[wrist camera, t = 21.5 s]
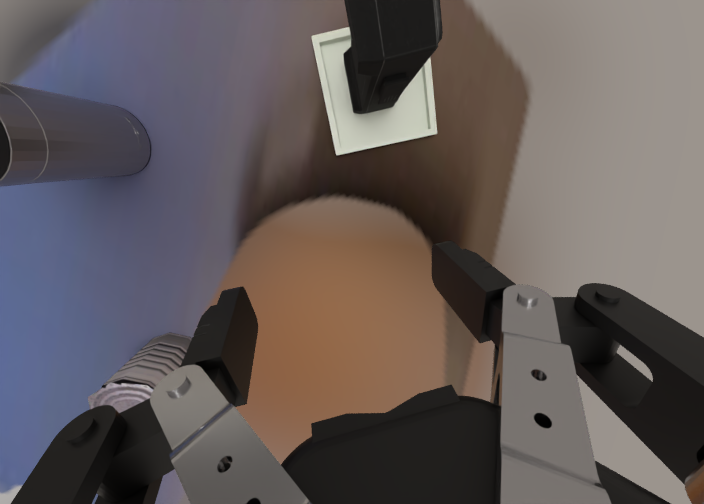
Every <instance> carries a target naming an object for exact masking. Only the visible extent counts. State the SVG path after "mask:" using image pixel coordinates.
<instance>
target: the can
mask: <svg viewBox="0 0 704 504" xmlns="http://www.w3.org/2000/svg"><path fill="white" fill-rule="evenodd" d="M191 340H192V339H191V338H190V337H188V336H183V335H179V334H174V333H167V334H164V335H161V336H158V337H155V338H153V339H152V340H151V341H150V342H149V343H148V344H147V345H146V346H144V347H143V348H142V349H141V350H140V351H139V352H138V353H137V354H136V355H135V356H134V357H133V358H132V359H130V360H129V361H128V362H127V363H126V364H125V365H124V366H123V367H122V368H121V369H120V370H119V371H118V372H117V373H115V374H114V375H113V376H112V377H111V378H110V379H109V380H108V381H107V382H106V383H105V384H104V385H103V386H102V388H101V389H100V390H98V391H97V392H95V393H94V394H92V395H91V396H89V397H88V401H89V406H90V409H92V408H95V407H97V406H101V405H111V406H113V407H114V408H115V409H116V410H117V411H118V412H119V413H121V412H123V411H125V410H127V409H129V408H131V407H133V406H135V405H137V404H139V403H141V402H143V401H145V400H147V399H149V398H150V397H151V394H152V392H153V390H154V388H155V387H156V385H157V384H158V383H159V382H160V381H161V380H162V379H163V378H164V377H165V376H167V375H168V374H169V373H171V372H172V371H174V370H176V369H178V368H180V365H181V363H182V361H183V359H184V356H185V354H186V352H187V349H188V347H189V345H190V342H191Z"/></svg>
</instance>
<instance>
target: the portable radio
mask: <svg viewBox="0 0 704 504" xmlns="http://www.w3.org/2000/svg"><path fill="white" fill-rule="evenodd" d="M345 6H346V12H347V17H348V23H349V29H350V34H351V47H350V48H349V49H348V50H347V51H346V52H345V53H344V54H343V57H344V66H345V71H346V76H347V81H348V87H349V92H350V97H351V103H352V108H353V113H356V114H366V113H371V112H375V111H379V110H383V109H387V108H391V107H393V106H394V105H395V103H396V102H397V101H398V99H399V97H400V95H401V94H402V93H403V91H404V90H405V88H406V87H407V86H408V85H409V83H410V82H411V81H412V80H413V78H414V77H415V76H416V74H417V73H418V72H419V71H420V69H421V68H422V67H423V65H424V64H425V63H426V62H427V60H428V59H429V58H430V57H431V55H432V54H433V53H434V51H435V50H436V49H437V47H438V43H439V41H440V40H441V39H442V33H443V32H442V20H441V8H440V0H345Z"/></svg>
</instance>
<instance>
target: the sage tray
mask: <svg viewBox="0 0 704 504" xmlns="http://www.w3.org/2000/svg"><path fill="white" fill-rule="evenodd" d="M311 37H312V42H313V47H314V51H315V56H316V61H317V66H318V71H319V75H320V80H321V85H322V90H323V94H324V99H325V104H326V109H327V114H328V118H329V123H330V128H331V133H332V137H333V142H334V147H335V152H336V156H337V155H342V154H346V153H351V152H356V151H360V150H365V149H369V148H374V147H379V146H383V145H388V144H393V143H397V142H402V141H406V140H411V139H416V138H420V137H425V136H430V135H434V134H437V126H436V115H435V104H434V93H433V82H432V71H431V60H430V58H429V59H428V60H427V62H426V63H425V64H424V65H423V67H422V68H421V69H420V71H419V72H418V73H417V74H416V76H415V77H414V78H413V80H412V81H411V82H410V83H409V85H408V86H407V87H406V88H405V90H404V91H403V93H402V94H401V95H400V97H399V99H398V101H397V102H396V103H395V105H394V106H393V107H391V108H387V109H383V110H379V111H375V112H371V113H366V114H356V113H353V108H352V103H351V97H350V92H349V87H348V81H347V76H346V71H345V66H344V57H343V54H344V53H345V52H346V51H347V50H348V49H349V48H350V47H351V34H350V29H349V27H347V28H343V29H339V30H335V31H331V32H326V33H322V34H318V35H314V36H311Z"/></svg>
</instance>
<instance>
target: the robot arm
mask: <svg viewBox="0 0 704 504" xmlns="http://www.w3.org/2000/svg"><path fill="white" fill-rule="evenodd" d="M149 157H150V142H149V139H148V135H147V133H146V131H145V129H144V127H143V126H142V125H141V123H140V122H139V121H138V120H137V119H136V118H135V117H134V116H133V115H132V114H131V113H129V112H128V111H126V110H124V109H122V108H120V107H117V106H112V105H108V104H103V103H99V102H94V101H90V100H85V99H81V98H76V97H71V96H66V95H62V94H57V93H52V92H47V91H43V90H38V89H33V88H28V87H23V86H19V85H14V84H9V83H4V82H0V186H11V185H21V184H32V183H43V182H55V181H66V180H78V179H89V178H101V177H113V176H124V175H131V174H135V173H137V172H139V171H141V170H142V169H143V168H144V167H145V166H146V164H147V162H148V160H149ZM432 279H433V283H434V285H435V287H436V288H437V290H438V291H439V292H440V294H441V295H442V296H443V298H444V299H445V300H446V301H447V303H448V304H449V305H450V306H451V308H452V309H453V310H454V311H455V313H456V314H457V315H458V316H459V318H460V319H461V320H462V321H463V323H464V324H465V325H466V327H467V328H468V329H469V330H470V332H471V333H472V334H473V335H474V337H475V338H476V339H477V340H478V342H479V343H483V342H486V341H490V340H492V341H493V342H494V344H495V348H494V358H493V373H492V388H491V399H490V402H488V401H485V400H482V399H478V398H474V397H469V396H458V395H457V394H456V392H455V390H454V388H453V387H452V385H448V386H445V387H441V388H437V389H434V390H430V391H427V392H423V393H419V394H417V395H416V396H414V397H412V398H411V399H409V400H407V401H406V402H404V403H402V404H401V405H399V406H397V407H396V408H394V409H392V410H391V411H389V412H386V413H370V414H369V413H364V414H363V413H358V414H344V415H340V416H337V417H334V418H330V419H326V420H322V421H319V422H315V423H312V424H311V425H312V437H310V438H309V439H307V440H306V441H304V442H303V443H302V444H300V445H299V446H298V447H297V448H296V449H295V450H294V451H293V452H292V453H291V454H290V455H289V456H288V457H287V458H286V459H285V460H284V461H283V463H282V464H281V465H280V463H279V462H278V461H277V460H276V458H275V457H274V456H273V455H272V453H271V452H270V451H269V450H268V448H267V447H266V446H265V444H264V443H263V442H262V441H261V439H260V438H259V437H258V436H257V434H256V433H255V432H254V431H253V429H252V428H251V427H250V426H249V424H248V423H247V422H246V420H245V419H244V418H243V417H242V415H241V414H240V413H239V412H238V410H237V409H236V408H235V407H237V406H241V405H245V404H247V398H248V392H249V385H250V379H251V372H252V366H253V359H254V353H255V346H256V339H257V333H258V323H257V318H256V315H255V312H254V310H253V307H252V305H251V302H250V300H249V298H248V295H247V293H246V290H245V289H244V287H237V288H233V289H228V290H224V291H222V293H221V295H220V298H219V300H218V303H217V305H214V306H211V307H210V308H209V309H208V310H207V311H206V312H205V313H204V314H203V315H202V317H201V319H200V321H199V324H198V326H197V327H198V328H197V329H196V331H195V333H194V337H193V338H192V340H191V342H190V345H189V347H188V349H187V352H186V354H185V356H184V359H183V361H182V363H181V365H180V368H178V369H176V370H174V371H172V372H171V373H169V374H168V375H167V376H165V377H164V378H163V379H162V380H161V381H160V382H159V383H158V384H157V385H156V387H155V388H154V390H153V392H152V394H151V397H150V398H149V399H147V400H145V401H143V402H141V403H139V404H137V405H135V406H133V407H131V408H129V409H127V410H125V411H123V412H121V413H119V412H118V411H117V410H116V409H115V408H114V407H113V406H111V405H101V406H97V407H95V408H92V409H90V410H88V411H86V412H84V413H82V414H81V415H79V416H78V417H76V418H75V419H74V420H72V421H71V422H70V423H69V424H67V425H66V426H65V427H64V428H63V429H62V430H61V431H60V432H59V433H58V434H57V436H56V437H55V438H54V440H53V441H52V442H51V444H50V445H49V447H48V448H47V450H46V451H45V453H44V454H43V456H42V457H41V459H40V460H39V462H38V463H37V465H36V467H35V468H34V470H33V471H32V473H31V474H30V476H29V477H28V479H27V480H26V482H25V483H24V485H23V486H22V488H21V489H20V491H19V492H18V494H17V495H16V497H15V498H14V500H13V501H12V503H11V504H92V502H93V499H94V497H95V495H96V493H97V494H98V497H97V500H96V502H95V504H155V501H156V497H157V494H158V491H159V487H160V484H161V481H162V477H163V476H164V475H165V474H167V473H169V472H170V471H172V470H174V469H175V471H176V473H177V475H178V477H179V479H180V482H181V484H182V486H183V488H184V491H185V493H186V495H187V497H188V499H189V501H190V504H670V503H669V502H667V501H665V500H663V499H662V498H660V497H658V496H656V495H655V494H653V493H651V492H649V491H648V490H646V489H644V488H642V487H641V486H639V485H637V484H635V483H634V482H632V481H630V480H628V479H627V478H625V477H623V476H621V475H620V474H618V473H616V472H614V471H613V470H610V469H609V468H607V467H606V466H604V465H602V464H600V463H599V462H597V461H595V460H594V455H593V450H592V446H591V441H590V436H589V432H588V427H587V422H586V417H585V413H584V408H583V404H582V398H581V394H580V389H579V384H578V380H577V375H578V376H579V377H580V378H581V379H582V380H583V381H584V382H585V383H586V384H587V386H588V387H590V389H591V390H592V391H593V392H594V393H595V394H596V395H597V396H598V397H599V398H600V399H601V400H602V401H603V402H604V403H605V404H606V405H607V406H608V407H609V408H610V409H611V410H612V411H613V412H614V413H615V414H616V415H617V416H618V417H619V418H620V419H621V420H622V421H623V422H624V423H625V424H626V425H627V426H628V427H629V428H630V429H631V430H632V431H633V432H634V433H635V434H636V436H637V437H638V438H639V439H640V440H641V441H642V442H643V443H644V444H645V445H646V446H647V447H648V448H649V449H650V450H651V451H652V452H653V453H654V454H655V455H656V456H657V457H658V458H659V459H660V460H661V461H662V462H663V463H664V464H665V465H666V466H667V467H668V468H669V469H670V470H671V471H672V472H673V473H674V474H675V475H676V476H677V477H678V478H679V479H680V480H681V481H682V482H683V483H684V485H685V490H686V492H687V495H688V497H689V499H690V501H691V503H692V504H704V337H702V336H700V335H698V334H697V333H695V332H693V331H692V330H690V329H688V328H686V327H685V326H683V325H681V324H680V323H678V322H677V321H675V320H673V319H672V318H670V317H668V316H667V315H665V314H663V313H662V312H660V311H658V310H657V309H655V308H653V307H652V306H650V305H648V304H646V303H645V302H643V301H641V300H639V299H638V298H636V297H635V296H633V295H631V294H630V293H628V292H626V291H624V290H622V289H620V288H617V287H614V286H611V285H606V284H599V283H598V284H597V283H591V284H585V285H583V286H581V287H580V288H579V290H578V293H577V296H576V297H551V296H550V295H549V294H548V293H547V292H545V291H543V290H542V289H539V288H537V287H534V286H530V285H516V284H515V283H513V282H512V281H511V280H509V279H508V278H507V277H506V276H505V275H503V274H502V273H501V272H500V271H498V270H497V269H496V268H495V267H492V265H491V264H490V263H488V262H487V261H485V259H483V258H482V257H481V256H480V255H478V254H477V253H474V252H472V251H469V250H467V249H463V250H462V249H461V248H460V247H459V246H458V245H456V244H455V243H454V242H453V241H446V242H442V243H437V244H434V245H433V246H432ZM619 345H622V346H623V347H624V348H626V349H627V350H628V351H629V352H631V353H632V354H633V355H634V356H636V357H637V358H638V359H640V360H641V361H642V362H643V363H644V364H646V366H647V367H648V368H649V369H650V371H651V373H652V376H653V382H652V381H651V380H649V379H648V378H647V377H646V376H644V375H643V374H642V373H641V372H639V371H638V370H637V369H636V368H634V367H633V366H632V365H631V364H630V363H628V362H627V361H626V360H625V359H624V358H622V357H621V356H620V355H619V354H617V353H616V352H617V350H618V348H619ZM576 374H577V375H576Z"/></svg>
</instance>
